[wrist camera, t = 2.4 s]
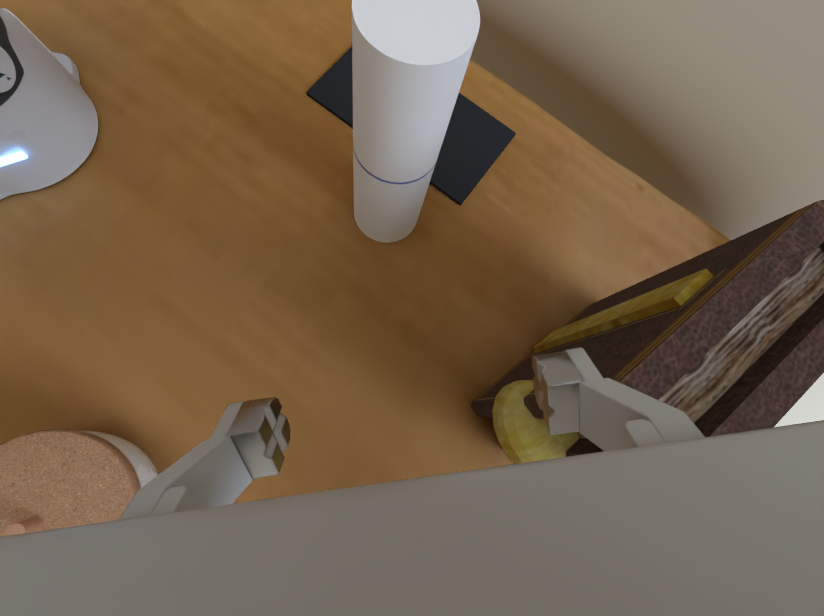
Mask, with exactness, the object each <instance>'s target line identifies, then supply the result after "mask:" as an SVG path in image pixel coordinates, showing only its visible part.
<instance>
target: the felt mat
mask: <svg viewBox="0 0 824 616" xmlns="http://www.w3.org/2000/svg"><path fill="white" fill-rule="evenodd" d="M307 95H308V96H309V97H311V98H312V99H314V100H315V101H316V102H318V103H319V104H320V105H322V106H323V107H325V108H326V109H327V110H329V111H330V112H332V113H333V114H334V115H336V116H337V117H339V118H340V119H341V120H343V121H344V122H345V123H347V124H348V125H350V126H351V127H352V128H353V75H352V47H351V48H350V49H349V50H348V51H347V52H346V53H345V54H344V55H343V56H342V57H341V58H340V59H339V60H338V61H337V62H336V63H335V64H334V65H333V66H332V67H331V68H330V69H329V70H328V71H327V72H326V73H325V74H324V75H323V76H322V77H321V78H320V79H319V80H318V81H317V82H316V83H315V84H314V85H313V86H312V87H311V88H310V89H309V90H308V91H307ZM515 134H516V133H515V132H514V131H512V130H511V129H509V128H508V127H507V126H505V125H504V124H502V123H501V122H500V121H498V120H497V119H495V118H494V117H493V116H491V115H490V114H488V113H487V112H485V111H484V110H483V109H481V108H480V107H478V106H477V105H476V104H474V103H473V102H471V101H470V100H469V99H467V98H466V97H464V96H463V95H462V94H460V93H459V94H458V97H457V100H456V103H455V106H454V109H453V112H452V115H451V118H450V121H449V124H448V127H447V130H446V134H445V137H444V140H443V143H442V146H441V149H440V152H439V155H438V158H437V161H436V164H435V167H434V171H433V174H432V177H431V180H430V184H431V185H433V186H434V187H436V188H437V189H438V190H440V191H441V192H442V193H444V194H445V195H447V196H448V197H449V198H451V199H452V200H454V201H455V202H456V203H458V204H459V205H461V204H462V203H463V201H464V200H465V199H466V197H467V196H468V195H469V194H470V192H471V191H472V190H473V188H474V187H475V186H476V185H477V183H478V182H479V181H480V179H481V178H482V177H483V175H484V174H485V173H486V172H487V170H488V169H489V168H490V166H491V165H492V164H493V163H494V161H495V160H496V159H497V157H498V156H499V155H500V154H501V152H502V151H503V150H504V148H505V147H506V146H507V145H508V143H509V142H510V141H511V139H512V138H513V137H514V136H515Z"/></svg>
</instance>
